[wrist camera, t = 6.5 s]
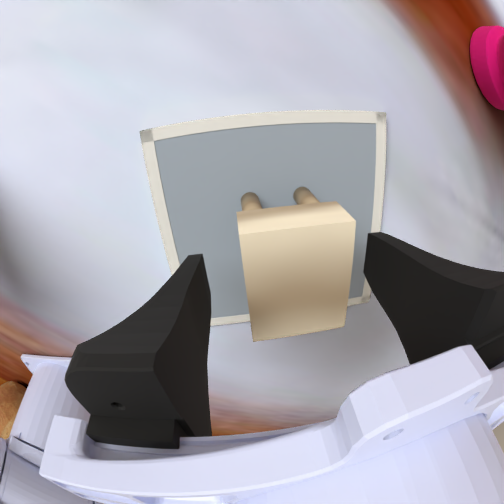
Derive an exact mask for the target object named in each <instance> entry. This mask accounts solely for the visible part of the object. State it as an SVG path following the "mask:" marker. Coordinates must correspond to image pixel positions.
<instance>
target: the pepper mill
mask: <svg viewBox="0 0 504 504" xmlns="http://www.w3.org/2000/svg"><path fill="white" fill-rule="evenodd" d="M470 58H471V65H472V69H473V73H474V76H475V79H476V81H477V84H478V86H479V88H480V90H481V92H482V94H483V95H484V97H485V98H486V99H487V100H488V102H489V103H490V104H491V105H493V106H494V107H495V108H497V109H500V110H504V28H503V27H501V26H483V27H479V28H477V29H476V30H475V31H474V32H473V35H472V37H471V41H470Z"/></svg>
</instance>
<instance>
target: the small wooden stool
mask: <svg viewBox="0 0 504 504" xmlns="http://www.w3.org/2000/svg"><path fill="white" fill-rule="evenodd" d="M293 198H294V200H295V202H296V203H297V205H291V206H282V207H273V208H264V209H262V206H261V203H260V201H259V198H258V196H257V195H256V194H255V193H253V192H248V193H245V194H244V195H243V196H242V197H241V207H242V211H239V212H236V213H237V222H238V231H239V240H240V247H241V255H242V263H243V270H244V278H245V285H246V293H247V300H248V308H249V315H250V322H251V329H252V337H253V342H255V341H263V340H270V339H277V338H283V337H290V336H296V335H302V334H308V333H314V332H319V331H325V330H330V329H335V328H340V327H344V324H345V318H346V311H347V304H348V297H349V289H350V281H351V273H352V263H353V253H354V242H355V229H356V220H355V219H354V218H353V217H352V216H351V215H350V214H349V213H348V212H347V211H346V210H345V209H344V208H343V207H342V206H341V205H340V204H339V203H338V202H337V201H332V202H321V203H320V202H319V201H318V199H317V198H316V197H315V196H314V195H313V194H312V193H311V192H310V190H309V189H308V188H306V187H299V188H297V189H296V190H295V191H294V193H293Z"/></svg>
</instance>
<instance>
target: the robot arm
mask: <svg viewBox="0 0 504 504" xmlns="http://www.w3.org/2000/svg"><path fill="white" fill-rule="evenodd" d="M363 273H364V275H365V277H366V280H367V282H368V284H369V286H370V288H371V290H372V292H373V293H374V295H375V296H376V298H377V300H378V301H379V303H380V304H381V306H382V308H383V309H384V311H385V312H386V314H387V315H388V317H389V319H390V320H391V322H392V324H393V325H394V327H395V329H396V331H397V333H398V335H399V338H400V340H401V342H402V344H403V347H404V349H405V352H406V355H407V357H408V360H409V363H410V365H408V366H405V367H402V368H399V369H395V370H392V371H389V372H386V373H384V374H381V375H379V376H377V377H374V378H372V379H370V380H367V381H366V382H364V383H363V384H362V385H360V386H359V387H357V388H356V389H354V390H353V391H352V392H351V393H350V394H349V395H348V397H347V398H346V399H345V401H344V402H343V403H342V405H341V406H340V409H339V412H338V415H337V417H336V418H334V419H331V420H328V421H324V422H319V423H314V424H309V425H304V426H299V427H293V428H287V429H281V430H274V431H267V432H259V433H250V434H239V435H227V436H212V431H211V421H210V409H209V395H208V373H207V356H208V345H209V334H210V324H211V313H212V311H211V291H210V286H209V282H208V277H207V272H206V267H205V263H204V258H203V254H195V255H188V256H187V257H186V259H185V260H184V261H183V262H182V264H181V265H180V266H179V268H178V269H177V270H176V271H175V273H174V274H173V275H172V276H171V277H170V279H169V280H168V281H167V282H166V283H165V284H164V285H163V286H162V287H161V289H160V290H159V291H158V292H157V293H156V294H155V295H154V296H153V297H152V298H151V299H150V300H149V301H147V302H146V303H145V304H144V305H143V306H142V307H141V308H139V309H138V310H137V311H135V312H134V313H133V314H131V315H130V316H129V317H127V318H126V319H125V320H123V321H122V322H120V323H119V324H117V325H116V326H114V327H112V328H111V329H109V330H107V331H106V332H104V333H102V334H100V335H98V336H96V337H94V338H92V339H90V340H88V341H86V342H83V343H81V344H79V345H77V347H76V349H75V351H74V354H73V356H72V358H69V357H52V356H38V355H27V354H22V356H21V359H22V361H23V362H24V363H25V365H26V366H27V367H28V369H29V370H30V371H31V372H32V374H33V376H32V378H31V380H30V383H29V385H28V387H27V390H26V392H25V395H24V397H23V400H22V402H21V405H20V407H19V410H18V412H17V415H16V418H15V421H14V424H13V426H12V429H11V432H10V436H9V438H7V439H6V440H5V439H3V438H2V437H0V504H103V503H104V504H504V453H503V451H502V449H501V447H500V445H499V443H498V441H497V439H496V437H495V435H494V433H493V431H492V430H493V429H494V428H495V427H497V426H498V425H499V424H501V423H502V422H503V421H504V272H497V271H490V270H484V269H479V268H474V267H470V266H466V265H462V264H459V263H455V262H452V261H449V260H446V259H443V258H441V257H438V256H436V255H433V254H431V253H428V252H426V251H424V250H421V249H419V248H417V247H415V246H413V245H410V244H408V243H406V242H404V241H402V240H399V239H397V238H395V237H393V236H390V235H388V234H385V233H382V232H374V233H368V236H367V245H366V254H365V262H364V269H363Z"/></svg>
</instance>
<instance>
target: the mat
mask: <svg viewBox="0 0 504 504" xmlns="http://www.w3.org/2000/svg"><path fill="white" fill-rule="evenodd" d="M140 136H141V142H142V148H143V154H144V159H145V164H146V169H147V174H148V179H149V184H150V189H151V194H152V198H153V203H154V207H155V212H156V216H157V220H158V224H159V228H160V232H161V236H162V240H163V244H164V248H165V252H166V256H167V260H168V263H169V267H170V270H171V274H172V275H173V274H174V273H175V271H176V270H177V269H178V268H179V266H180V265H181V264H182V262H183V261H184V260H185V259H186V257H187V256H188V255H195V254H203V258H204V263H205V267H206V272H207V277H208V282H209V286H210V291H211V311H212V313H211V324H210V326H213V325H223V324H232V323H240V322H249V321H250V315H249V308H248V300H247V293H246V285H245V278H244V270H243V263H242V255H241V247H240V240H239V231H238V222H237V213H236V212H239V211H242V207H241V197H242V196H243V195H244V194H245V193H248V192H253V193H255V194H256V195H257V196H258V198H259V201H260V203H261V206H262V209H264V208H273V207H282V206H291V205H297V203H296V202H295V200H294V198H293V193H294V191H295V190H296V189H297V188H299V187H306V188H308V189H309V190H310V192H311V193H312V194H313V195H314V196H315V197H316V198H317V199H318V201H319V202H320V203H321V202H332V201H337V202H338V203H339V204H340V205H341V206H342V207H343V208H344V209H345V210H346V211H347V212H348V213H349V214H350V215H351V216H352V217H353V218H354V219H355V220H356V229H355V242H354V253H353V263H352V273H351V281H350V289H349V297H348V304H347V306H351V305H356V304H362V303H367V302H369V299H370V294H371V288H370V286H369V284H368V282H367V280H366V277H365V275H364V273H363V269H364V262H365V254H366V245H367V236H368V233H374V232H380V227H381V218H382V208H383V196H384V182H385V162H386V113H385V112H374V111H352V110H298V111H277V112H262V113H250V114H240V115H231V116H222V117H215V118H207V119H201V120H194V121H188V122H182V123H176V124H171V125H166V126H161V127H156V128H151V129H147V130H142V131H140Z"/></svg>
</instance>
